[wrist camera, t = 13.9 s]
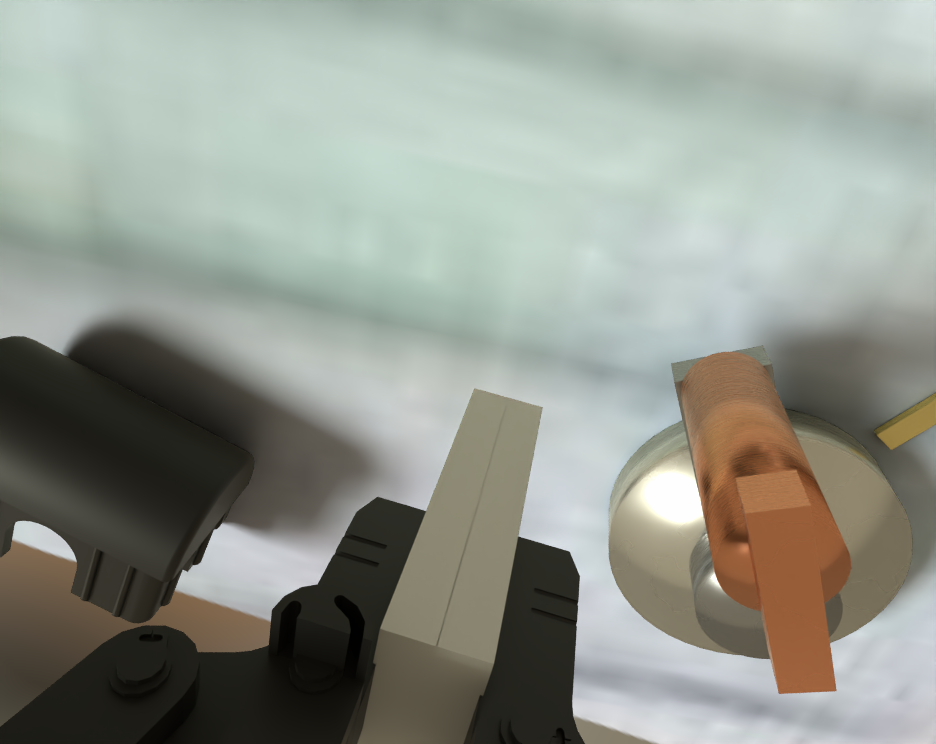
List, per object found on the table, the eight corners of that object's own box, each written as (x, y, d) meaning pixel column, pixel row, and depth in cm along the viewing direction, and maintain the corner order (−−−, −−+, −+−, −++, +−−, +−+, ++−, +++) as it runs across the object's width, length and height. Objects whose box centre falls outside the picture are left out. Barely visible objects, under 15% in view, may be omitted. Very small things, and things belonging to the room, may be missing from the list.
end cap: (280, 420, 27) (189, 529, 22) (233, 529, 31) (144, 648, 25) (58, 303, 27) (-97, 382, 21) (36, 427, 30) (-102, 525, 24)
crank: (830, 607, 23) (952, 928, 15) (700, 618, 25) (746, 917, 16) (787, 281, 18) (931, 490, 10) (628, 316, 20) (641, 526, 12)
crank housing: (582, 432, 25) (579, 463, 23) (956, 368, 21) (987, 399, 19) (637, 625, 29) (639, 663, 27) (962, 599, 25) (988, 642, 23)
